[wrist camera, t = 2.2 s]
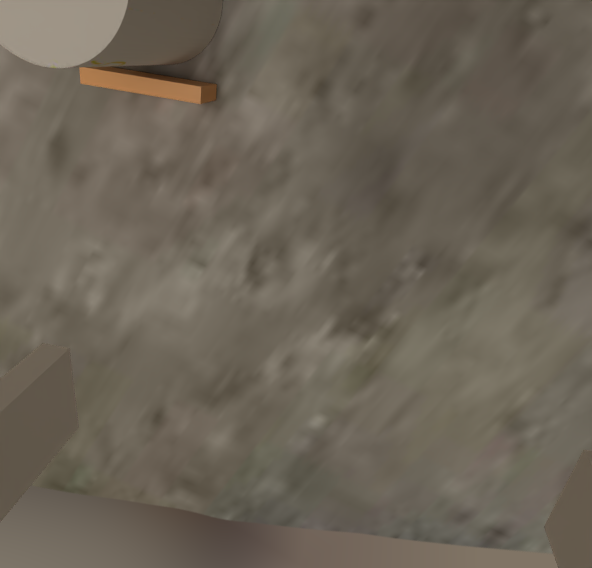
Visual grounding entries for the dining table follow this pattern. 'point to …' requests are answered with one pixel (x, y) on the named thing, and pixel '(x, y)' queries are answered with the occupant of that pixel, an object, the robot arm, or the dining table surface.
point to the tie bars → (149, 84)
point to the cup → (107, 31)
